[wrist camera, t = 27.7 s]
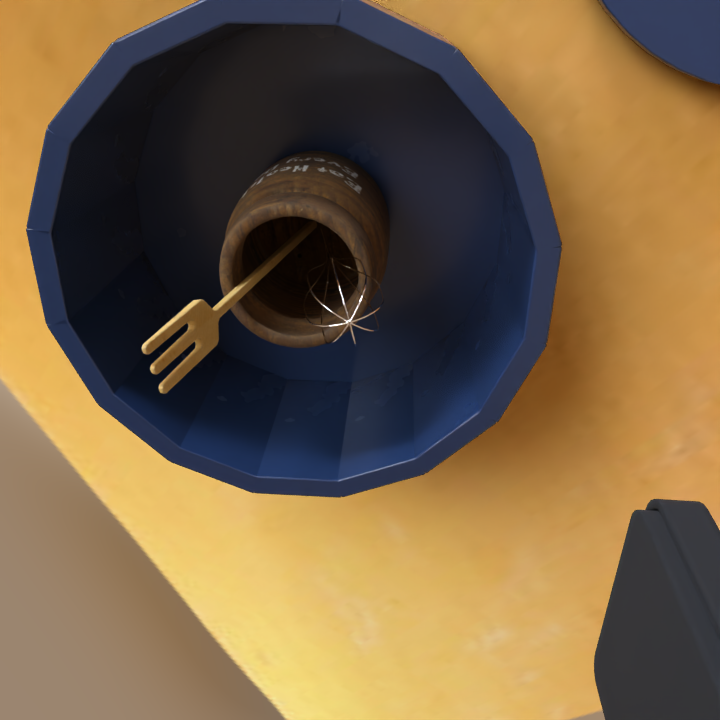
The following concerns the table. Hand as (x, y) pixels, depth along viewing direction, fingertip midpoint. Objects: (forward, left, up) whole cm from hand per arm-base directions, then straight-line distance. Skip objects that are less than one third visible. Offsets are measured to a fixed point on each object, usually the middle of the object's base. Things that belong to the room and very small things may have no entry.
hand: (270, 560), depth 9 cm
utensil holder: (+1, -2, -21) cm, 21 cm away
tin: (+1, -2, -22) cm, 22 cm away
